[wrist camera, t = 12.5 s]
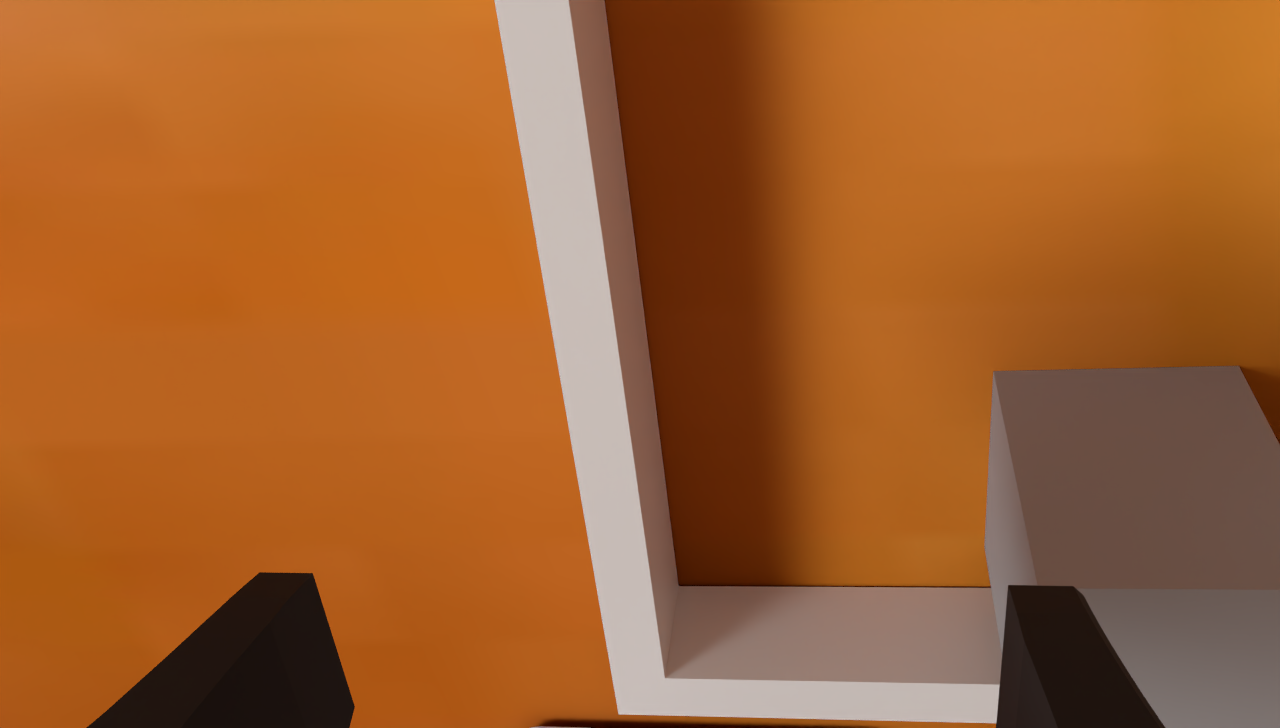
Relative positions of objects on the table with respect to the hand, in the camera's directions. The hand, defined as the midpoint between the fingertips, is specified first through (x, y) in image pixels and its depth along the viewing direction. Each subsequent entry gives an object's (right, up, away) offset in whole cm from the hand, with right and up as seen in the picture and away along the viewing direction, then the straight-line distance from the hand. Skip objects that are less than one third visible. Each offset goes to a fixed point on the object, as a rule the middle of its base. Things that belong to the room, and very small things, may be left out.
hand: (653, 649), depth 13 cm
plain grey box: (+8, +1, +9) cm, 12 cm away
